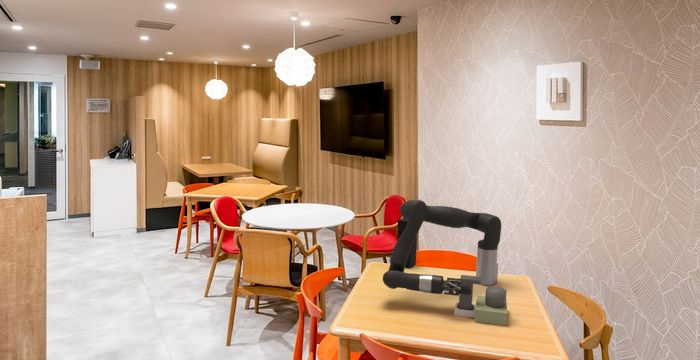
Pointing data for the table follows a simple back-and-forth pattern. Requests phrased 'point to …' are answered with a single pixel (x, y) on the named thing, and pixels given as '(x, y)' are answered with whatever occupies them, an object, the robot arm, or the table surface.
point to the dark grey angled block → (467, 283)
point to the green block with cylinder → (488, 307)
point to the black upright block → (412, 255)
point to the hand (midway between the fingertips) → (471, 288)
